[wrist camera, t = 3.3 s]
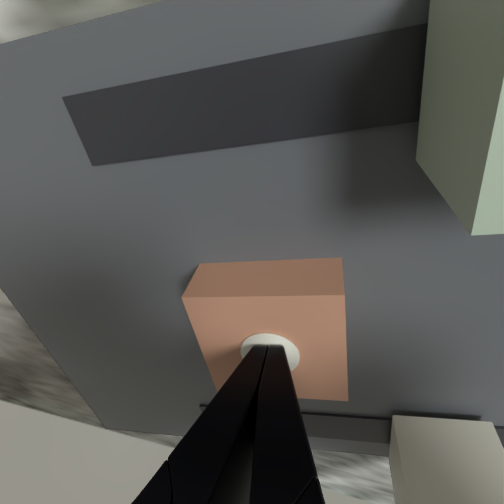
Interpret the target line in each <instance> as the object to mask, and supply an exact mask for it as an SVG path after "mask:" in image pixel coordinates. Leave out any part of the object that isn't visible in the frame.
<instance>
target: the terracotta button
mask: <svg viewBox="0 0 504 504" xmlns="http://www.w3.org/2000/svg"><path fill="white" fill-rule="evenodd" d="M181 298H182V301H183V303H184V306H185V309H186V311H187V314H188V317H189V319H190V322H191V324H192V327H193V330H194V332H195V335H196V338H197V340H198V343H199V346H200V348H201V351H202V353H203V356H204V359H205V361H206V364H207V367H208V369H209V372H210V374H211V377H212V380H213V382H214V385H215V388H216V390H217V392H218V391H219V390H220V388H221V387H222V386H223V384H224V383H225V382H226V380H227V379H228V378H229V376H230V375H231V374H232V373H233V371H234V370H235V369H236V367H237V366H238V365H239V363H240V362H241V361H242V359H243V358H244V357H245V355H246V354H247V353H248V351H249V350H250V349H251V348H252V347H253V346H254V345H267V346H268V347H269V346H271V345H280V346H284V348H285V352H286V356H287V359H288V363H289V367H290V371H291V375H292V379H293V383H294V386H295V390H296V394H297V398H304V399H320V400H336V401H348V376H347V345H346V315H345V291H344V279H343V267H342V257H341V258H317V259H294V260H271V261H248V262H225V263H202V264H199V266H198V268H197V269H196V271H195V273H194V275H193V277H192V279H191V281H190V282H189V284H188V286H187V288H186V290H185V292H184V293H183V295H182V297H181Z"/></svg>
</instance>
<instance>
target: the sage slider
mask: <svg viewBox="0 0 504 504" xmlns="http://www.w3.org/2000/svg"><path fill="white" fill-rule="evenodd" d="M416 161H417V163H418V164H419V165H420V167H421V168H422V170H423V171H424V172H425V174H426V175H427V176H428V178H429V179H430V180H431V182H432V183H433V184H434V186H435V187H436V189H437V190H438V191H439V193H440V194H441V195H442V197H443V198H444V199H445V201H446V202H447V204H448V205H449V206H450V208H451V209H452V210H453V212H454V213H455V214H456V216H457V217H458V218H459V220H460V221H461V223H462V224H463V225H464V227H465V228H466V229H467V231H468V232H469V233H470V235H471V236H472V235H491V234H504V0H430V7H429V19H428V30H427V41H426V52H425V63H424V74H423V85H422V96H421V107H420V118H419V129H418V140H417V151H416Z"/></svg>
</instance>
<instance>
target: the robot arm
mask: <svg viewBox="0 0 504 504" xmlns="http://www.w3.org/2000/svg"><path fill="white" fill-rule="evenodd" d="M131 504H325V501H324V497H323V494H322V490H321V486H320V482H319V479H318V475H317V471H316V467H315V464H314V460H313V456H312V452H311V448H310V444H309V440H308V437H307V433H306V429H305V425H304V421H303V417H302V413H301V410H300V406H299V402H298V398H297V394H296V390H295V386H294V383H293V379H292V375H291V371H290V367H289V363H288V359H287V356H286V352H285V348H284V346H280V345H271V346H269V347H268V346H267V345H254V346H253V347H252V348H251V349H250V350H249V351H248V353H247V354H246V355H245V357H244V358H243V359H242V361H241V362H240V363H239V365H238V366H237V367H236V369H235V370H234V371H233V373H232V374H231V375H230V376H229V378H228V379H227V380H226V382H225V383H224V384H223V386H222V387H221V388H220V390H219V391H218V392H217V394H216V395H215V396H214V398H213V399H212V400H211V401H210V403H209V404H208V405H207V407H206V408H205V409H204V411H203V412H202V413H201V415H200V416H199V417H198V419H197V420H196V421H195V423H194V424H193V425H192V426H191V428H190V429H189V430H188V432H187V433H186V434H185V436H184V437H183V438H182V440H181V441H180V442H179V444H178V445H177V446H176V448H175V449H174V450H173V451H172V453H171V454H170V455H169V457H168V460H166V461H165V462H164V463H163V464H162V466H161V467H160V468H159V470H158V471H157V472H156V474H155V475H154V476H153V477H152V479H151V480H150V481H149V483H148V484H147V485H146V486H145V488H144V489H143V490H142V491H141V493H140V494H139V495H138V496H137V498H136V499H135V500H134V501H133V502H132V503H131Z"/></svg>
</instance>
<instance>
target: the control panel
mask: <svg viewBox="0 0 504 504" xmlns="http://www.w3.org/2000/svg"><path fill="white" fill-rule="evenodd" d="M429 7H430V0H164V1H160V2H157V3H153V4H149V5H145V6H142V7H138V8H134V9H130V10H127V11H123V12H119V13H116V14H112V15H108V16H104V17H101V18H97V19H93V20H89V21H86V22H82V23H78V24H74V25H71V26H67V27H63V28H59V29H56V30H52V31H48V32H44V33H41V34H37V35H33V36H29V37H26V38H22V39H18V40H14V41H11V42H7V43H3V44H0V288H1V289H2V290H3V292H4V293H5V294H6V296H7V297H8V299H9V300H10V301H11V303H12V304H13V305H14V307H15V308H16V309H17V311H18V312H19V313H20V315H21V316H22V317H23V319H24V320H25V321H26V323H27V324H28V325H29V327H30V328H31V329H32V331H33V332H34V333H35V335H36V336H37V337H38V339H39V340H40V341H41V343H42V344H43V345H44V347H45V348H46V349H47V351H48V352H49V353H50V355H51V356H52V357H53V359H54V360H55V361H56V363H57V364H58V365H59V367H60V368H61V369H62V371H63V372H64V373H65V375H66V376H67V377H68V379H69V380H70V381H71V383H72V384H73V385H74V387H75V388H76V389H77V391H78V392H79V393H80V395H81V396H82V397H83V399H84V400H85V401H86V403H87V404H88V405H89V407H90V408H91V409H92V411H93V412H94V413H95V415H96V416H97V417H98V419H99V420H100V421H101V423H102V424H103V425H104V427H105V428H106V429H116V430H126V431H136V432H146V433H156V434H166V435H176V436H185V434H186V433H187V432H188V430H189V429H190V428H191V426H192V425H193V424H194V423H195V421H196V420H197V419H198V417H199V416H200V415H201V413H202V412H203V411H204V409H205V408H206V407H207V405H208V404H209V403H210V401H211V400H212V399H213V398H214V396H215V395H216V394H217V390H216V388H215V385H214V382H213V380H212V377H211V374H210V372H209V369H208V367H207V364H206V361H205V359H204V356H203V353H202V351H201V348H200V346H199V343H198V340H197V338H196V335H195V332H194V330H193V327H192V324H191V322H190V319H189V317H188V314H187V311H186V309H185V306H184V303H183V301H182V298H181V297H182V295H183V293H184V292H185V290H186V288H187V286H188V284H189V282H190V281H191V279H192V277H193V275H194V273H195V271H196V269H197V268H198V266H199V264H202V263H225V262H248V261H271V260H294V259H317V258H341V257H342V267H343V279H344V291H345V315H346V345H347V376H348V401H336V400H320V399H304V398H298V402H299V406H300V410H301V413H302V417H303V421H304V425H305V429H306V433H307V437H308V440H309V444H310V448H311V449H316V450H326V451H336V452H346V453H356V454H366V455H376V456H386V457H389V449H390V438H391V427H392V416H393V415H400V416H414V417H429V418H443V419H457V420H471V421H486V422H492V423H493V425H494V428H495V430H496V432H497V435H498V437H499V439H500V441H501V444H502V446H503V448H504V234H491V235H472V236H471V235H470V233H469V232H468V231H467V229H466V228H465V227H464V225H463V224H462V223H461V221H460V220H459V218H458V217H457V216H456V214H455V213H454V212H453V210H452V209H451V208H450V206H449V205H448V204H447V202H446V201H445V199H444V198H443V197H442V195H441V194H440V193H439V191H438V190H437V189H436V187H435V186H434V184H433V183H432V182H431V180H430V179H429V178H428V176H427V175H426V174H425V172H424V171H423V170H422V168H421V167H420V165H419V164H418V163H417V161H416V151H417V140H418V129H419V118H420V107H421V96H422V85H423V74H424V63H425V52H426V41H427V30H428V19H429Z"/></svg>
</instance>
